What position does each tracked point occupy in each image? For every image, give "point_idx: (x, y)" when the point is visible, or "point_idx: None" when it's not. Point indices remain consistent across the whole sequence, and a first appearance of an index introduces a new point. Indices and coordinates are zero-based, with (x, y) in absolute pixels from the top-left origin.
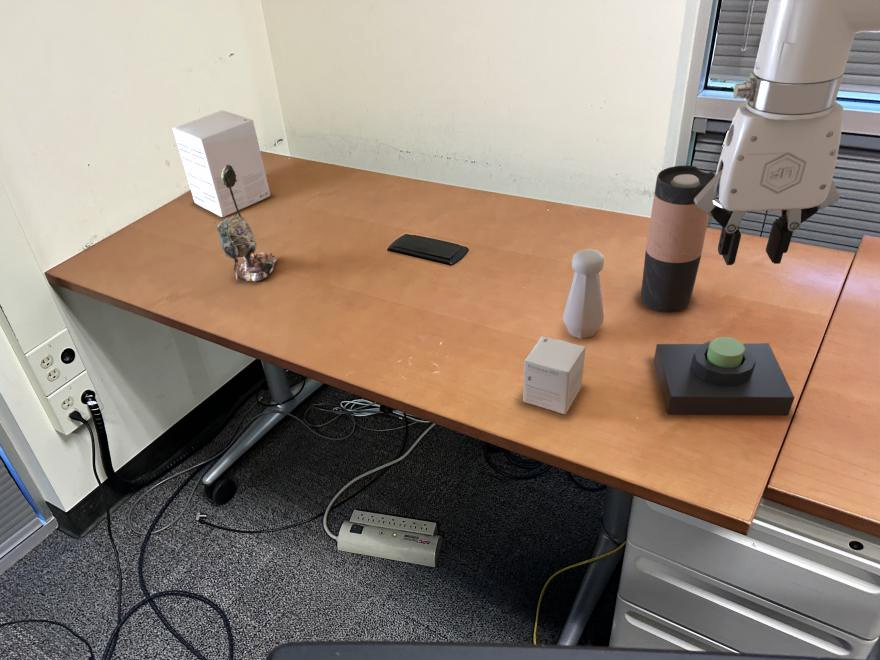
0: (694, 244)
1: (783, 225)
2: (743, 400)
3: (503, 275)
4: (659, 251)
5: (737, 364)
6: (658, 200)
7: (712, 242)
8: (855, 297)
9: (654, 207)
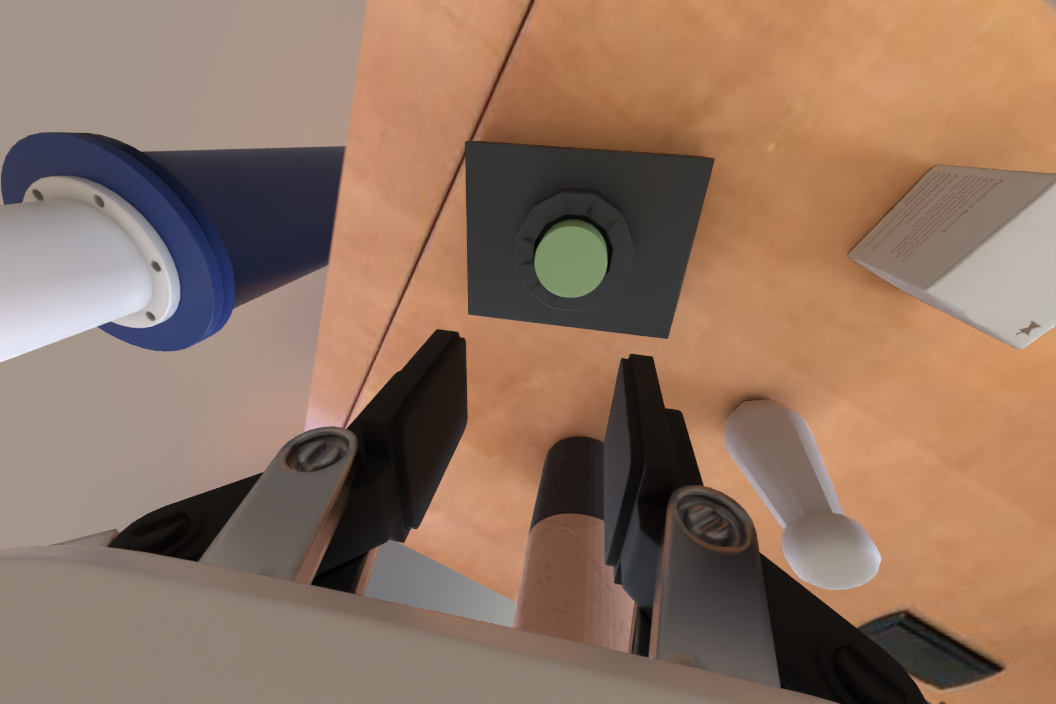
0: (554, 547)
1: (376, 475)
2: (560, 147)
3: None
4: None
5: (555, 225)
6: None
7: (476, 558)
8: (325, 420)
9: None
